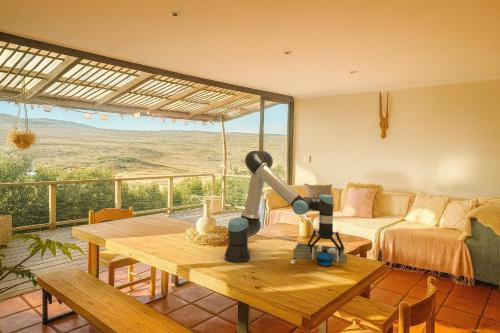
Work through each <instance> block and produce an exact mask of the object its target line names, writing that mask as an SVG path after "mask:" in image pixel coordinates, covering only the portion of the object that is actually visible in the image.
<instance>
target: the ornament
mask: <svg viewBox="0 0 500 333" xmlns="http://www.w3.org/2000/svg"><path fill="white" fill-rule="evenodd" d="M332 260H333V258H332V256H331V254H330V253H328V252H327V250H326V249H324V251H323V252H320V253H319V254H318V256H317V260H316V261H317V263H318V264H319V265H320V266H323V267H329V266H331V264H332V263H333V262H332Z"/></svg>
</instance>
